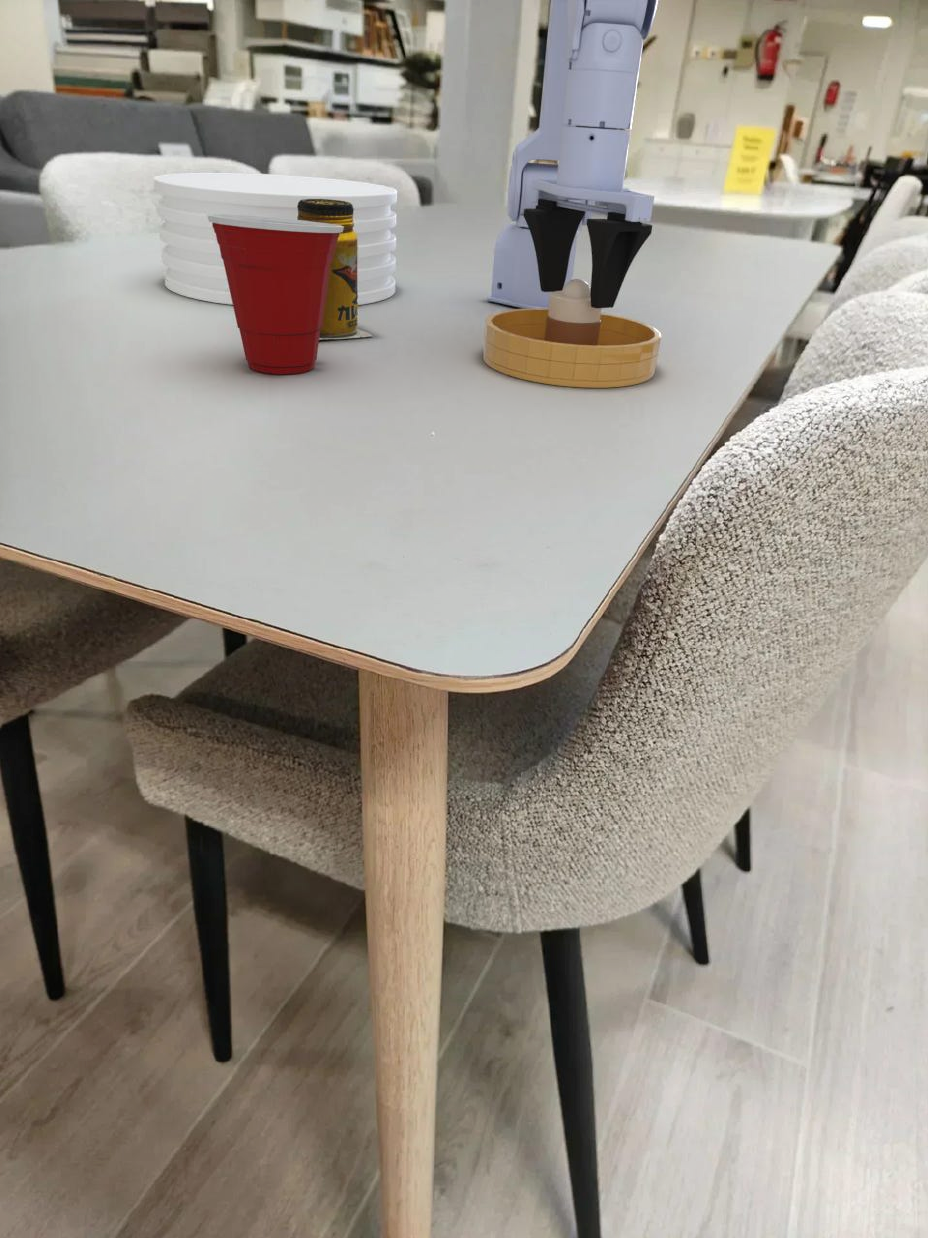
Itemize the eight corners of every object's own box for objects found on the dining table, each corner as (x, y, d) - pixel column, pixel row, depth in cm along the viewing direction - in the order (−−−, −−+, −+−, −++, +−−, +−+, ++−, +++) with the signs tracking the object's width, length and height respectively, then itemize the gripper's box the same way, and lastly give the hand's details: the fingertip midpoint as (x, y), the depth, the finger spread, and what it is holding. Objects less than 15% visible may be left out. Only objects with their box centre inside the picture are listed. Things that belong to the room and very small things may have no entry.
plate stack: (384, 315, 95) (385, 201, 90) (131, 298, 95) (116, 183, 89) (403, 274, 120) (405, 183, 114) (201, 261, 119) (193, 168, 113)
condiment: (373, 337, 86) (374, 205, 80) (294, 343, 82) (289, 204, 76) (340, 322, 91) (339, 197, 85) (265, 327, 87) (258, 195, 81)
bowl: (447, 358, 80) (449, 319, 79) (549, 336, 91) (553, 302, 90) (591, 398, 72) (597, 356, 70) (685, 369, 82) (692, 331, 81)
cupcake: (532, 353, 82) (540, 274, 78) (574, 349, 84) (583, 273, 81) (563, 366, 78) (573, 284, 75) (606, 361, 81) (617, 282, 77)
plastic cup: (365, 360, 78) (366, 215, 72) (309, 389, 69) (304, 226, 63) (260, 344, 81) (252, 203, 75) (192, 370, 72) (177, 212, 66)
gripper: (692, 134, 68) (662, 312, 75) (581, 126, 79) (563, 283, 86) (624, 130, 65) (599, 316, 72) (517, 122, 75) (504, 285, 82)
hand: (575, 298), depth 79 cm, fingers open, 7 cm apart
